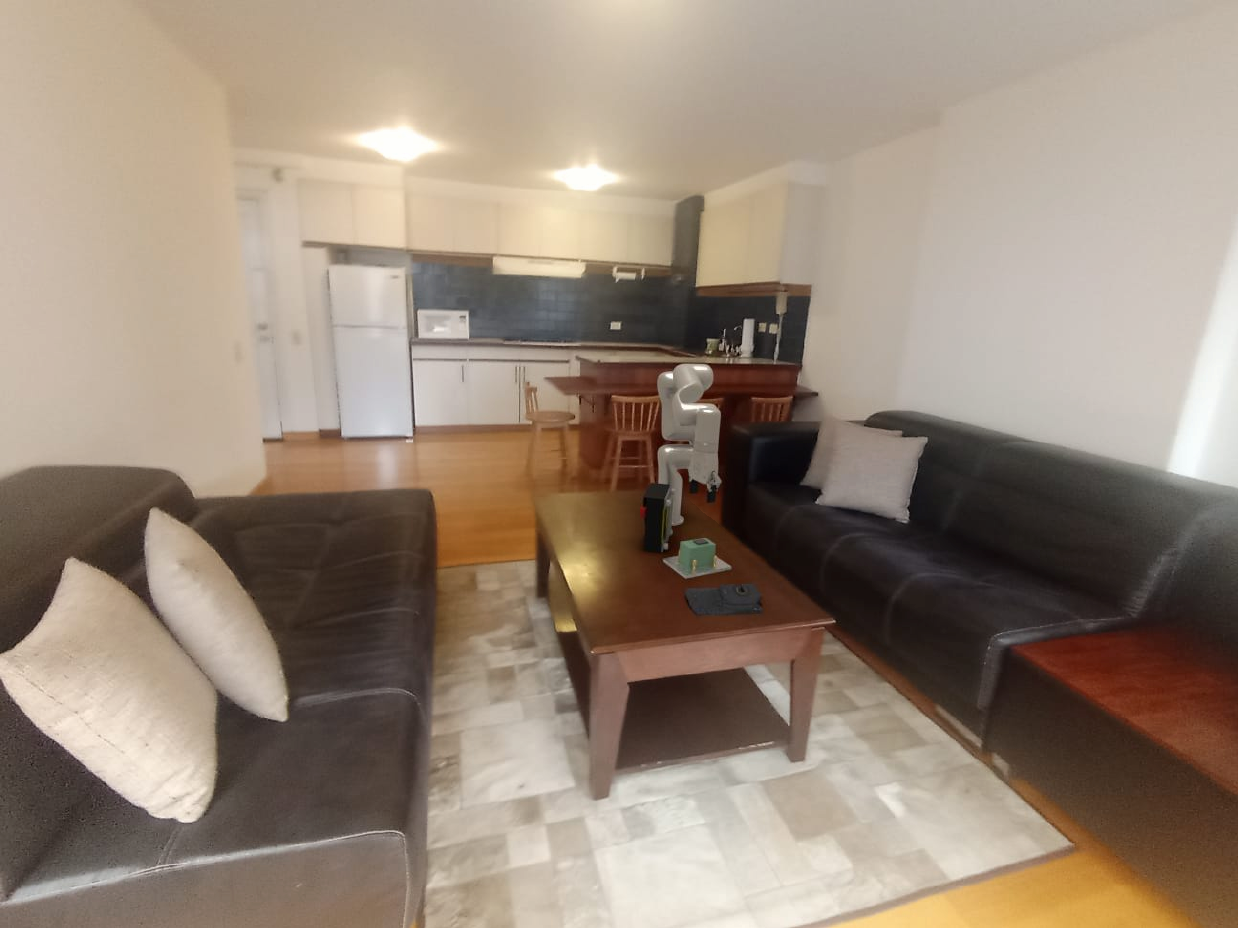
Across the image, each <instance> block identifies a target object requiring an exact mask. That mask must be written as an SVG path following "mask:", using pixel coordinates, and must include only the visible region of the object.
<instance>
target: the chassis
mask: <svg viewBox="0 0 1238 928" xmlns="http://www.w3.org/2000/svg"><path fill="white" fill-rule="evenodd" d="M679 557H680V548H678V555H676V556H675V555H674V556H671V557H670V556H669V557H666V558H663V559H662V561H663V563H664V564H666V565H667V566H668V567H670V568H671V569H673V571H675V572H676V573H677V574H678V575H680V576H681V577H682V578H684V579H690V578H696V577H700V576H705V575H710V574H715V573H721V572H725V571H729V570H732V566H731V565H729V564H728V563H726V562H725V561H724V560H722V559H720V558H719V557H718V556H717V555H716V554H715V555H714V556H713V564H710V565H705V566H699V567H696V563H697V560H696V559H693V567H692V568H688V567H686V566H685V565H684V564H682V563H681V562H680V561H679Z"/></svg>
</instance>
